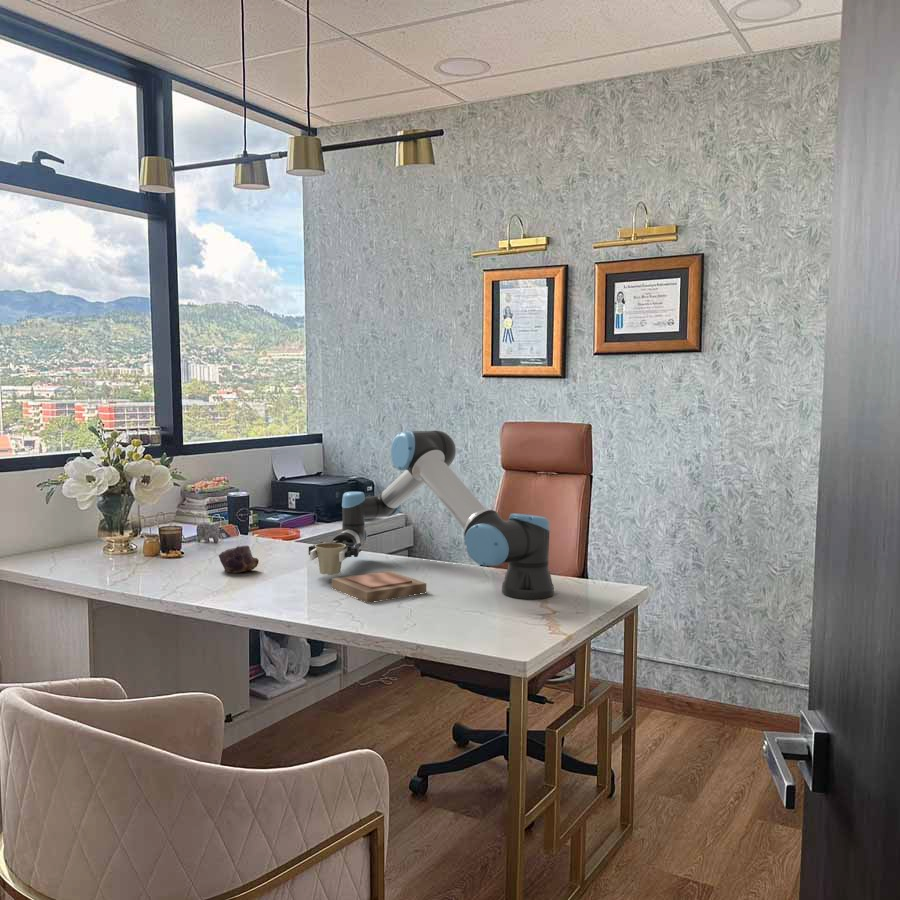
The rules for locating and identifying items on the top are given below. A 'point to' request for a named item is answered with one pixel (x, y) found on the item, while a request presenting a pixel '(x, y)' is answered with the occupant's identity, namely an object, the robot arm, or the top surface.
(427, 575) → the top surface
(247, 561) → the rock
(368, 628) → the top surface
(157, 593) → the top surface
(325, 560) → the flower pot
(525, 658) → the top surface
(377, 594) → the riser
